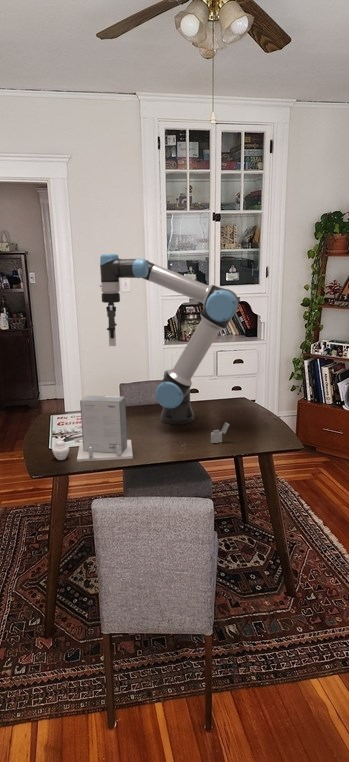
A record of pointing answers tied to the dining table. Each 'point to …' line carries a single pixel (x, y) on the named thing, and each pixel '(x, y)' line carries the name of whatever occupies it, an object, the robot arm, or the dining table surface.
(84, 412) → the hard drive box
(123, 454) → the pin tray
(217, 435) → the lighter
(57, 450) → the white lidded jar
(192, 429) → the dining table surface
